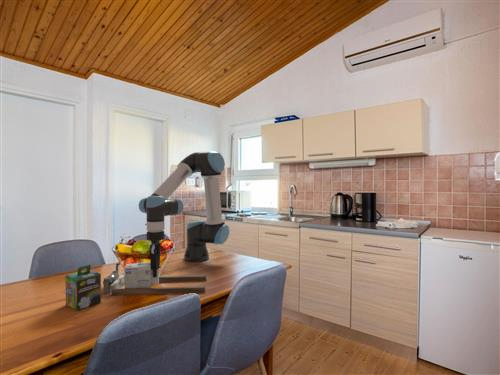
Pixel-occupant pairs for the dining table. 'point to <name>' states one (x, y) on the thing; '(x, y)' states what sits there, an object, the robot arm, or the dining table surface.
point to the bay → (121, 281)
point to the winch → (111, 279)
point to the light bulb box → (138, 275)
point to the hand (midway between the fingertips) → (155, 283)
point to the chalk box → (83, 288)
